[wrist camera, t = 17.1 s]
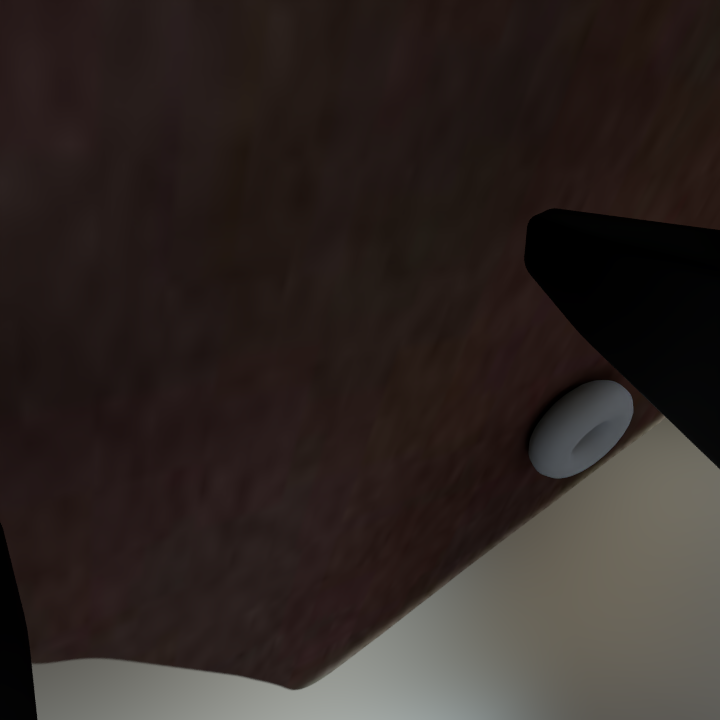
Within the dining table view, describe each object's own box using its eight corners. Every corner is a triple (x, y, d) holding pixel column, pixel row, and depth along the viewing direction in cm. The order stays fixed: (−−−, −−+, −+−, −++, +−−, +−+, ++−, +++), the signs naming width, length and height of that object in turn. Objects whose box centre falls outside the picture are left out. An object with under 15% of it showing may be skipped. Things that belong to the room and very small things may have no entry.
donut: (628, 364, 45) (553, 379, 40) (662, 389, 43) (588, 408, 38) (574, 446, 51) (502, 469, 45) (602, 472, 48) (530, 499, 43)
